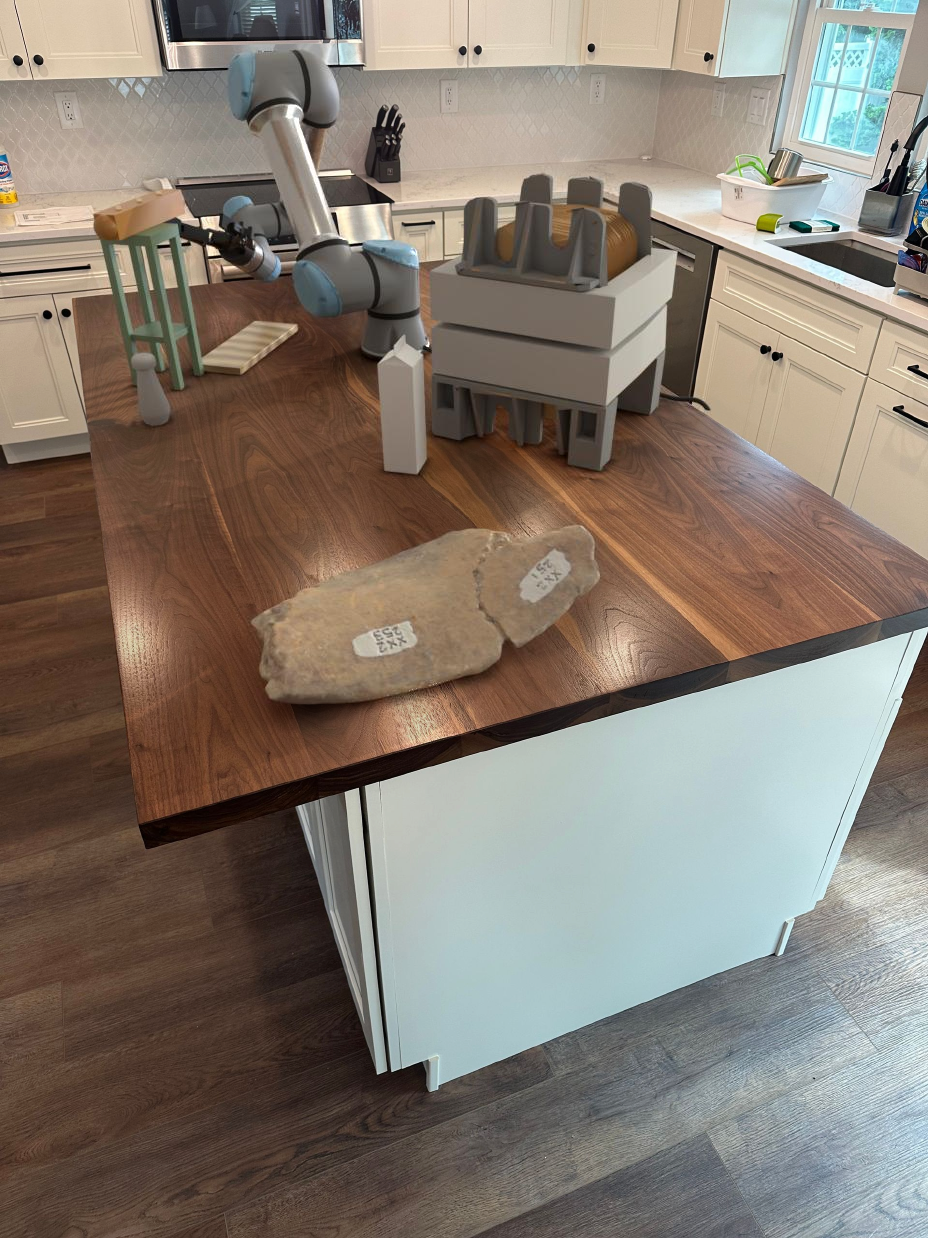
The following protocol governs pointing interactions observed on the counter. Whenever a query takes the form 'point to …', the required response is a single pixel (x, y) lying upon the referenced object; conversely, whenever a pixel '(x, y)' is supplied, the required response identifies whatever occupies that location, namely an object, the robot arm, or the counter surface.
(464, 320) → the transformer
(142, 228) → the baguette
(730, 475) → the counter surface
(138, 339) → the green shelf
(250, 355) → the bread board
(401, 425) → the milk
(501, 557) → the rock
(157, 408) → the salt shaker
